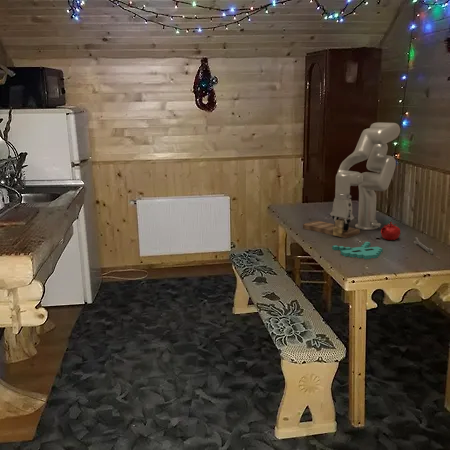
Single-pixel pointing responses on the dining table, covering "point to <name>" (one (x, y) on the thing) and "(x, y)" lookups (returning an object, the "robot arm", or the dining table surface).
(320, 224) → the walnut board
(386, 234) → the pomegranate
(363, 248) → the alien figure
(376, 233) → the dining table surface
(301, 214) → the dining table surface
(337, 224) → the tan cardboard box
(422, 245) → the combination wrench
